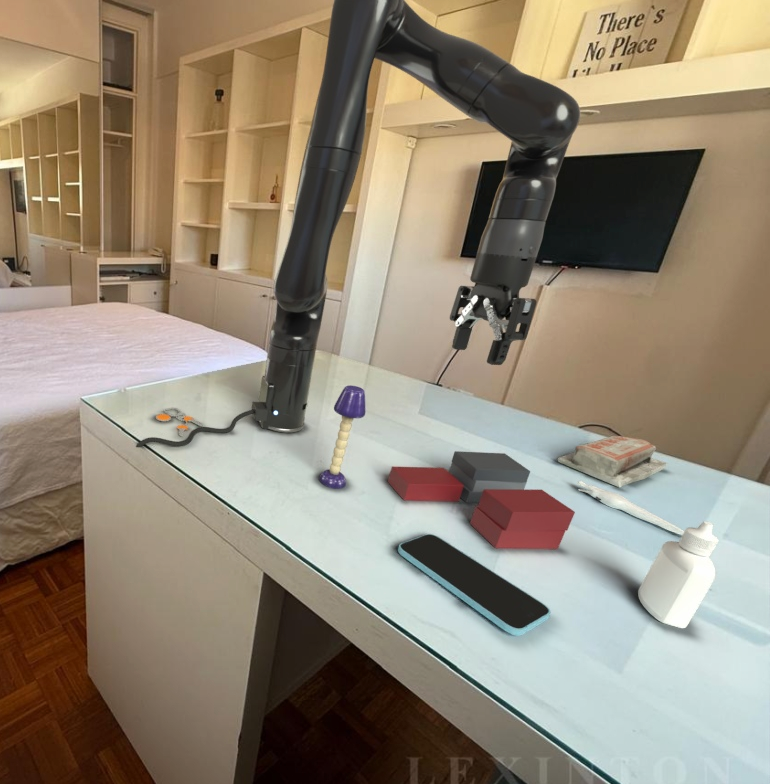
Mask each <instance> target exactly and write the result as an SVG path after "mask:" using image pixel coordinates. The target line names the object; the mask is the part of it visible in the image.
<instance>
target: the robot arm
mask: <svg viewBox="0 0 770 784" xmlns="http://www.w3.org/2000/svg"><path fill="white" fill-rule="evenodd" d="M329 22H330V23H329V28H328V29H329V31H328V38H327V47H326V52H325V53H326V54H325V60H324V67H323V72H322V73H323V74H322V78H321V81H320V86H319V91H318V94H317V98H316V101H315V102H316V103H315V106H314V111H313V115H312V120H311V124H310V129H309V132H308V137H307V140H306V144H305V149H304V153H303V157H302V162H301V166H300V170H299V175H298V176H299V177H298V183H297V187H296V192H295V193H296V194H295V199H294V205H293V213H292V220H291V225H290V226H291V227H290V230H289V235H288V239H287V242H286V246H285V249H284V252H283V254H282V257H281V261H280V264H279V266H278V269H277V273H276V276H275V278H274V282H273V295H274V298H275V301H276V304H275V305H276V306H275V313H274V317H273V322H272V325H271V328H270V330H269V339H268V348H267V355H266V361H265V363H266V364H265V371H264V375H262V376H261V379H260V387H259V394H258V395H259V396H258V401H252V403H251V409H250V410H247V411H244V412H241V413H239V414H238V415H236V416H235V417H234V418H233V419H232V421H231V423H230V425H229V426H228V427H226V428H216V427H210V426H199V427H196V428H194V429H192V430H191V431H190V432H189V435H188V437H186V439H184V440H179V441H177V440H176V441H175V440H170V439H166V438H161V437H155V436H154V437H153V436H151V437H146V438H143V439H142V440H140V441H139V442H138V443H137V444H136V445H135V447H136V448H142V447H144V446H145V445H147V444H151V443H157V444H161V445H166V446H170V447H183V446H186V445H189V444H190V443H191V442H192V441H193V439H194V437H195V436H196V435H197V434H198V433H201V432H206V433H207V432H208V433H215V434H227V433H230V432H232V431H234V428H235V427H236V424H237V422H238V421H240V420H241V419H243V418H246V417H249V416H251V415H252V417H253V419H254V421H255V422H258V423H259V425H260V427H261V429H264V430H270V431H274V432H278V433H288V434H289V433H291V434H292V433H297V432H300V431H302V430H303V429H304V426H305V419H306V412H307V408H308V406H309V402H308V401H309V394H310V387H311V381H312V375H313V369H314V364H315V358H316V351H317V345H318V339H319V336H320V332H321V326H322V321H323V315H324V309H325V304H326V300H327V292H328V283H329V282H328V277H327V273H326V271H327V266H328V260H329V255H330V250H331V245H332V240H333V237H334V234H335V232H336V229H337V227H338V224H339V222H340V219H341V217H342V215H343V212H344V210H345V208H346V206H347V203H348V200H349V197H350V195H351V192H352V189H353V186H354V183H355V181H356V175H357V173H358V168H359V164H360V161H361V158H362V157H361V156H362V154H363V148H364V143H365V137H366V127H367V114H368V94H369V83H370V77H371V72H372V67H373V64H374V61H375V60H378V61H380V62H383V63H385V64H388V65H390V66H392V67H394V68H396V69H399V71H402V72H403V73H405V74H406V75H409V76H410V77H412V78H414V79H415V80H416V81H418V82H420V83H421V84H422V85H424V86H425V87H426V88H428V89H429V90H431V91H432V92H433V93H435V94H436V95H437V96H439V98H441V99H443V100H444V101H445V102H447V103H448V104H450V105H451V106H452V107H454V108H455V109H456V110H458V111H460V112H461V113H462V114H464V115H465V116H467V117H469V118H470V119H472V120H473V121H476V122H478V123H480V124H486V125H489V126H490V127H491V128H493V129H495V130H496V131H497V132H499V133H500V134H501V135H503V136H504V137H506V138H508V139H509V140H510V141H511V142H510V147H509V150H508V155H507V156H508V157H507V159H506V163H505V167H504V172H503V176H502V180H501V182H500V183H499V185H498V188H497V190H496V192H495V194H494V195H495V196H494V198H493V201H492V206H491V208H490V213H489V216H488V220H487V222H486V225H485V227H484V230H483V232H482V235H481V237H480V240H479V245H478V249H477V252H476V256H475V259H474V263H473V267H472V271H471V274H470V277H469V279H470V282H472V283H474V285H460V286H459V287H458V289H457V293H456V296H455V299H454V302H453V305H452V308H451V312H450V314H449V321H452V322H454V326H455V327H456V328H455V332H454V335H453V339H452V345H451V347H452V349H453V350H457V351H465V350H466V349H467V348H468V345H469V341H470V338H471V334H472V332H473V328H472V327H473V326H475V324H477V322H478V321H479V320H484V321H486V322H488V325H489V327H490V328H492V330H493V335H494V339H493V340H492V343H491V346H490V348H489V352H488V356H487V359H486V363H487V364H489V365H491V366H502V365H503V364H504V363H505V361H506V359H507V356H508V353H509V350H510V348H511V345H512V343H513V342H515V341H516V342H517V341H525V340H526V339H527V337H528V334H529V331H530V327H531V324H532V320H533V316H534V313H535V310H536V306H537V299H536V298H530V297H520V291H521V289H522V288H525V287H527V286H528V285H529V282H530V279H531V276H532V273H533V270H534V267H535V263H536V260H537V257H538V255H539V254H538V253H539V251H540V247H541V244H542V243H543V242H542V241H543V237H544V232H545V227H546V223H547V222H546V221H547V219H548V216H549V214H550V210H551V207H552V205H553V200H554V197H555V193H556V188H557V178H558V176H559V173H560V170H561V167H562V164H563V161H564V159H565V156H566V153H567V151H568V147H569V146H570V143H571V140H572V137H573V135H574V133H575V131H576V130H577V128H578V125H579V123H580V119H581V108H580V105H579V103H578V101H577V100H576V99H575V98H574V97H573V96H572V95H571V94H570V93H568V92H567V91H565V90H564V89H562V88H560V87H558V86H556V85H554V84H552V83H550V82H547V81H545V80H542V79H540V78H538V77H536V76H533V75H530V74H527V73H524V72H523V71H520V70H519V69H518V68H517V67H516V66H514V65H513V64H512V63H510V62H509V61H507V60H506V59H504V58H502V57H501V56H500V55H498V54H496V53H494V52H492V51H491V50H490V49H488V48H486V47H484V46H483V45H481V44H478V43H476V42H474V41H471V40H469V39H466V38H464V37H463V38H462V37H460V36H456V35H453V34H450V33H447V32H445V31H442V30H440V29H439V28H437V27H435V26H433V25H432V24H430V23H428V22H427V21H426V20H425V19H423V18H422V17H421V16H420V15H419V14H418V13H417V12H416V11H415V10H414V9H413V8H412V7H411V6H410V5H409V4H408V3H407V2H406V0H333V4H332V9H331V14H330V21H329ZM461 308H462V310H461V312H460V309H461ZM459 312H460V313H459ZM519 324H520V325H519ZM518 325H519V328H518ZM517 328H518V331H517ZM504 331H505V332H504Z"/></svg>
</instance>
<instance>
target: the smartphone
mask: <svg viewBox="0 0 770 784" xmlns="http://www.w3.org/2000/svg"><path fill="white" fill-rule="evenodd" d="M397 548H398V549H397V552H398V554H399V555H400V556H401V557H402V558H404V559H405V560H407V561H408V562H410V563H411V564H412V565H414V566H415V567H416V568H418V569H419V570H421V571H422V572H423V573H424V574H426V575H428V576H429V577H430V578H432V579H433V580H434V581H436V582H437V583H439V584H440V585H441V586H443V587H444V588H445V589H446V590H448V591H449V592H450V593H452V594H454V595H455V596H456V597H458V598H459V599H460V600H462V601H463V602H465V603H466V604H467V605H468V606H470V607H472V608H473V609H474V610H476V611H477V612H478V613H480V614H481V615H483V616H484V617H485V618H487V620H489V621H490V622H492V623H493V624H495V625H496V626H497V627H499V628H500V629H502V630H503V631H505V632H507V634H511V635H513V636H522V635H524V634H525V633H527V632H529V631H531V630H533V629H534V628H536V627H537V626H539V625H541V624H543V623H544V622H546V621H547V620H549V617H550V616H551V613H552V610H551V609H550V608H549V607H548V605H546V604H545V603H544V602H542V601H540V600H538V599H537V598H536V597H534V596H532V595H531V594H530V593H527V592H526V591H524V590H523V589H521V588H520V587H518V586H517V585H515V584H513V583H512V582H510V581H509V580H507V579H505V578H504V577H503V576H501V575H499V574H498V573H496V572H495V571H493V570H492V569H490V568H488V567H487V566H485V565H484V564H482V563H481V562H479V561H477V560H476V559H474V558H473V557H471V556H469V555H468V554H466V553H465V552H463V551H462V550H460V549H459V548H457V547H455V546H453V545H452V544H451V543H449V542H448V541H446V540H444V539H443V538H442V537H440V536H437V535H436V534H434V533H433V534H432V533H426V534H423V535H420V536H417V537H415V538H412V539H409V540H406V541H403V542H400V543H399V545H398V547H397Z"/></svg>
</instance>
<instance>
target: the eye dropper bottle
mask: <svg viewBox="0 0 770 784" xmlns="http://www.w3.org/2000/svg"><path fill="white" fill-rule="evenodd" d="M713 528H714V524H713V523H711V522H709V521H705V520H704V521H702V522H701V524H699V526H698V527H693V526H690V527H686V528H685V530H684V531H685V532H684V533H683V535H681V537H680V539H679V541H674V540H668V541H665V542H664V543H663V544H662V546H661V547H660V548H659V551H658V552H657V554H656V556H655V557H654V560H653V561H652V564H651V565H650V567H649V569H648V571H647V573H646V574H645V577H644V578H643V580H642V583H641V584H640V585H639V588H638V590H637V594H638V595H637V596H638V599H639V601H640V603H641V605H642V606H643V608H644V609H645V610H646V611H647V612H648V613H649V614H650V615H651V616H652V617H653V618H655V619H656V620H657V621H659V622H660V623H662V624H664V625H668V626H672V627H674V628H675V627H676V628H679V629H685V628H687V627H688V625H689V623H690V622H691V620H692V619H693V617H694V615H695V614H696V612H697V610H698V608H699V607H700V605H701V603H702V602H703V600H704V598H705V596H706V595H707V594H708V592H709V590H710V588H711V586H712V584H713V582H714V581H715V578H716V568H715V565H714V563H713V560H712V559H711V557H710V556H711V555H712V553H713V551H714V549H715V548H716V546H717V545H718V543H719V540H720V539H719V538H718V537H717V536H715V534H713Z"/></svg>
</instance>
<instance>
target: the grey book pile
mask: <svg viewBox="0 0 770 784" xmlns="http://www.w3.org/2000/svg"><path fill="white" fill-rule="evenodd" d="M448 472H449V473H450V474H451V475H453V476H454V477H455V478H456V479H457V480H458V481H459V482H461V483H462V484H463V485H464V486H463V490H462V493H461V496H460V499H461V500H463V501H464V502H465V503H466V504H468V503H469V504H479V502H480V499H481V496H482V493H483V490H484V489H523V490H525V489H526V485H527V482H528V479H529V476H530V475H531V470H529V469H528V468H526V467H525V466H524V465H522V464H521V463H519V462H518V461H517V460H515V459H514V458H512V457H511V456H509V455H508V454H507V453H503V452H502V453H501V452H482V451H461V450H458V451H457V450H455V451H454V452H453V455H452V458H451V463H450V467H449V470H448Z"/></svg>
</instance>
